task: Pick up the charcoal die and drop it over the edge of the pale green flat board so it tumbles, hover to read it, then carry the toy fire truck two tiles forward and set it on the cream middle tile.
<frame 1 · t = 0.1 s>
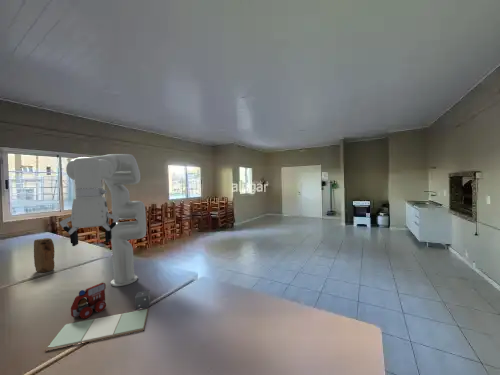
hand: (92, 243, 80), 31 cm above the table, fingers open, 9 cm apart
block: (45, 270, 145), on the table
pale green flat board: (103, 328, 83), on the table
toy fire truck: (89, 313, 93), on the table
die: (143, 305, 97), on the table
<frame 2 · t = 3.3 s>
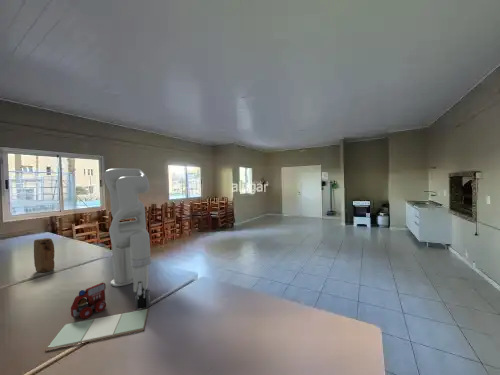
hand: (143, 303, 97), 1 cm above the table, fingers closed on die, 5 cm apart
die: (143, 305, 98), on the table, touching gripper
everything else where it was.
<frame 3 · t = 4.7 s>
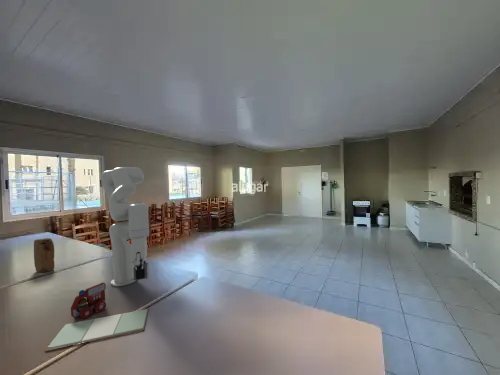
hand: (141, 275, 98), 13 cm above the table, fingers closed on die, 5 cm apart
die: (141, 277, 98), point 12 cm above the table, touching gripper
everything else where it was.
when the fingers open (9 cm above the table, at t = 5.8 s): die drops 6 cm and tips over, point 3 cm above the table.
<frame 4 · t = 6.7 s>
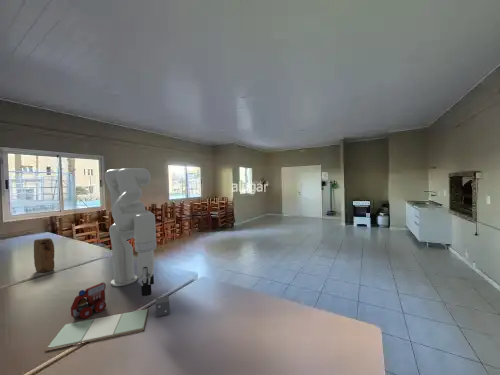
hand: (148, 289, 89), 10 cm above the table, fingers open, 9 cm apart
die: (155, 307, 90), point 3 cm above the table, tilted 92°
everything else where it was.
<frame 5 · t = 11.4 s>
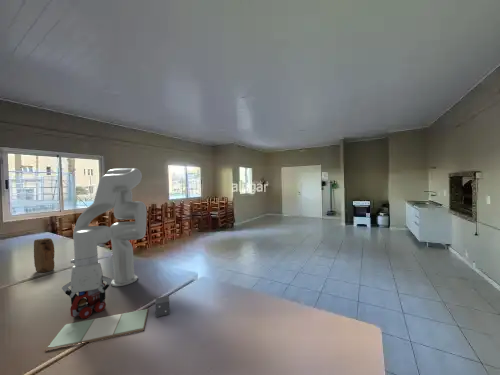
hand: (89, 303, 93), 4 cm above the table, fingers closed on toy fire truck, 8 cm apart
toy fire truck: (89, 313, 93), on the table, touching gripper
everything else where it was.
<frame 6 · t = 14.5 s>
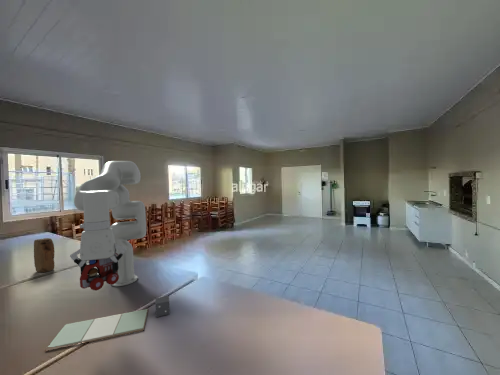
hand: (100, 274, 82), 19 cm above the table, fingers closed on toy fire truck, 8 cm apart
toy fire truck: (100, 286, 82), point 15 cm above the table, touching gripper
everything else where it was.
when the fingers open (6 cm above the table, at t = 17.5 s): toy fire truck drops 1 cm, resting on pale green flat board.
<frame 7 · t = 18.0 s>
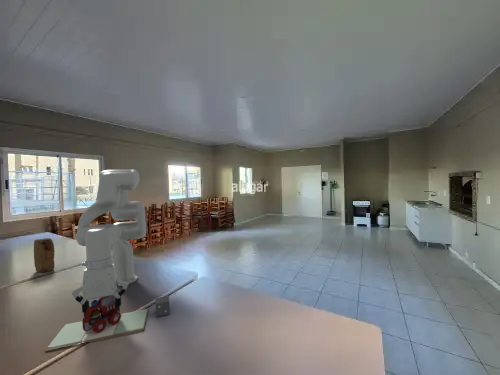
hand: (102, 310, 82), 6 cm above the table, fingers open, 9 cm apart
toy fire truck: (103, 326, 83), point 1 cm above the table, touching pale green flat board
everything else where it was.
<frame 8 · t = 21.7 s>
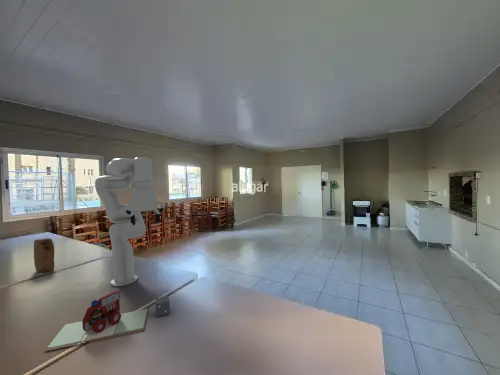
hand: (146, 223, 103), 33 cm above the table, fingers open, 9 cm apart
nothing on the table moved.
at the end: toy fire truck inside the target area on the pale green flat board (0.3 cm from its centre), point 0.6 cm above the pale green flat board's base; toy fire truck tilted 0°; the gripper is holding nothing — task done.
